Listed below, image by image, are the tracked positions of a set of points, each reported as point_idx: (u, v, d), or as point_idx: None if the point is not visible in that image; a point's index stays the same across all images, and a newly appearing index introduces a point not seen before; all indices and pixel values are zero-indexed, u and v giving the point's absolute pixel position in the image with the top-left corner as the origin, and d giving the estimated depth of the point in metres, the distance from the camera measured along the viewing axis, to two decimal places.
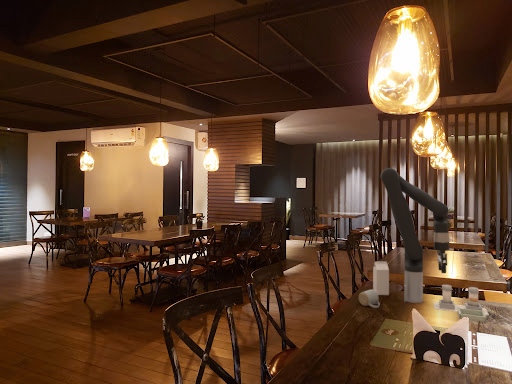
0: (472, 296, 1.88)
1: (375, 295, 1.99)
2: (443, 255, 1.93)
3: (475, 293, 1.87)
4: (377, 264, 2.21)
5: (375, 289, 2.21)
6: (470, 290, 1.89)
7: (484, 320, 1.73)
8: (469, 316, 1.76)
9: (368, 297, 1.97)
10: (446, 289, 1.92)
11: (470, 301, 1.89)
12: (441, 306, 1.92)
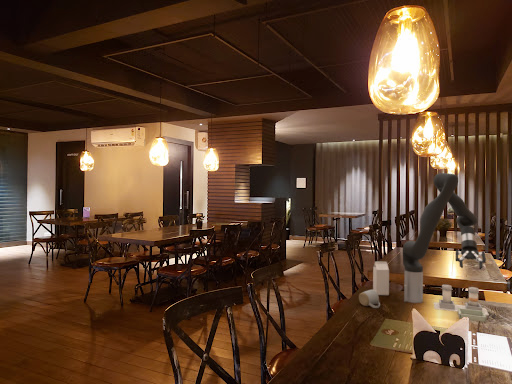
0: (472, 296, 1.88)
1: (375, 295, 1.99)
2: None
3: (475, 293, 1.87)
4: (377, 264, 2.21)
5: (375, 289, 2.21)
6: (470, 290, 1.89)
7: (484, 320, 1.73)
8: (469, 316, 1.76)
9: (369, 297, 1.97)
10: (446, 289, 1.92)
11: (470, 301, 1.89)
12: (441, 306, 1.92)
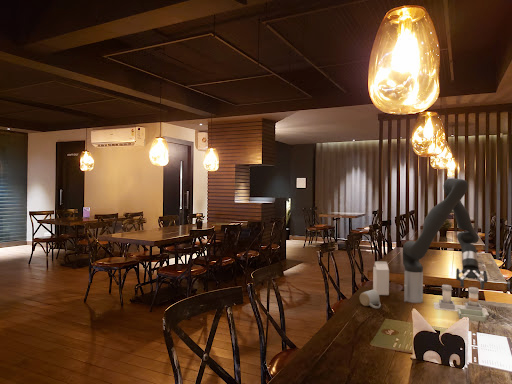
0: (472, 296, 1.88)
1: (376, 295, 1.99)
2: None
3: (475, 293, 1.87)
4: (377, 264, 2.21)
5: (375, 289, 2.21)
6: (470, 290, 1.89)
7: (484, 320, 1.73)
8: (469, 316, 1.76)
9: (369, 297, 1.96)
10: (446, 289, 1.92)
11: (470, 301, 1.89)
12: (441, 306, 1.92)
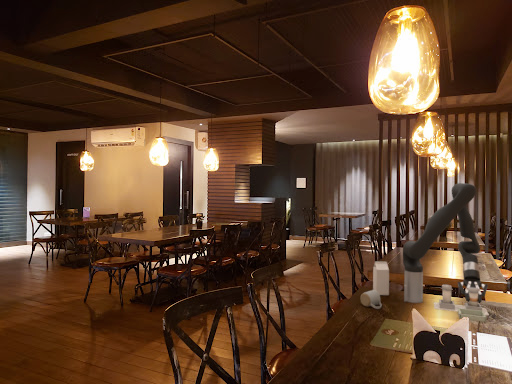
0: (472, 296, 1.88)
1: (377, 295, 1.98)
2: None
3: (475, 293, 1.87)
4: (377, 264, 2.21)
5: (375, 289, 2.21)
6: (470, 290, 1.89)
7: (484, 320, 1.73)
8: (469, 316, 1.76)
9: (370, 298, 1.96)
10: (446, 289, 1.92)
11: (470, 301, 1.89)
12: (441, 306, 1.92)
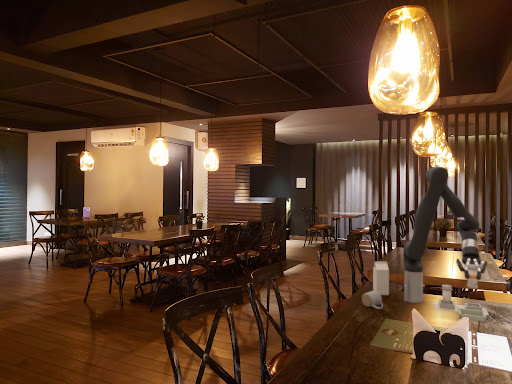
0: (471, 273, 1.81)
1: (378, 296, 1.97)
2: (486, 264, 1.84)
3: (474, 270, 1.81)
4: (377, 264, 2.21)
5: (375, 289, 2.21)
6: (469, 267, 1.82)
7: (484, 320, 1.73)
8: (469, 316, 1.76)
9: (371, 298, 1.95)
10: (446, 289, 1.92)
11: (469, 278, 1.82)
12: (441, 306, 1.92)
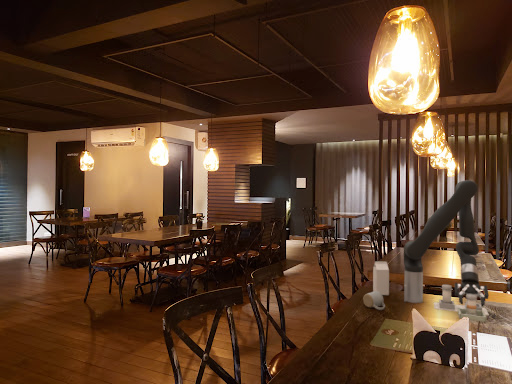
0: (470, 303, 1.78)
1: (380, 296, 1.96)
2: (486, 288, 1.81)
3: (473, 300, 1.77)
4: (377, 264, 2.21)
5: (375, 289, 2.21)
6: (468, 297, 1.79)
7: (484, 320, 1.73)
8: (469, 316, 1.76)
9: (373, 299, 1.94)
10: (446, 289, 1.92)
11: (468, 308, 1.79)
12: (441, 306, 1.92)
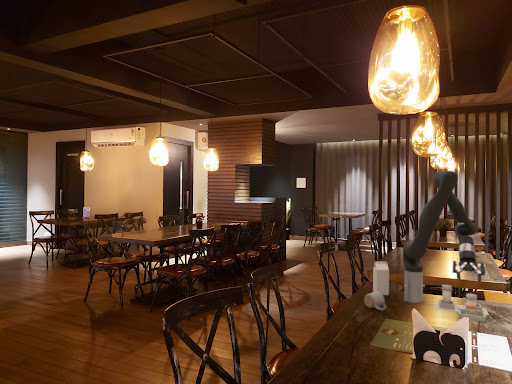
0: (470, 303, 1.78)
1: (381, 297, 1.96)
2: (483, 265, 1.91)
3: (473, 300, 1.77)
4: (377, 264, 2.21)
5: (375, 289, 2.21)
6: (468, 297, 1.79)
7: (484, 320, 1.73)
8: (469, 316, 1.76)
9: (374, 299, 1.94)
10: (446, 289, 1.92)
11: (468, 308, 1.79)
12: (441, 306, 1.92)
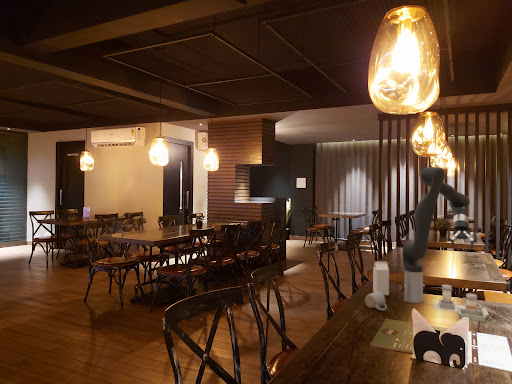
0: (470, 303, 1.78)
1: (382, 297, 1.95)
2: (475, 233, 2.04)
3: (473, 300, 1.77)
4: (377, 264, 2.21)
5: (375, 289, 2.21)
6: (468, 297, 1.79)
7: (484, 320, 1.73)
8: (469, 316, 1.76)
9: (375, 299, 1.93)
10: (446, 289, 1.92)
11: (468, 308, 1.79)
12: (441, 306, 1.92)
